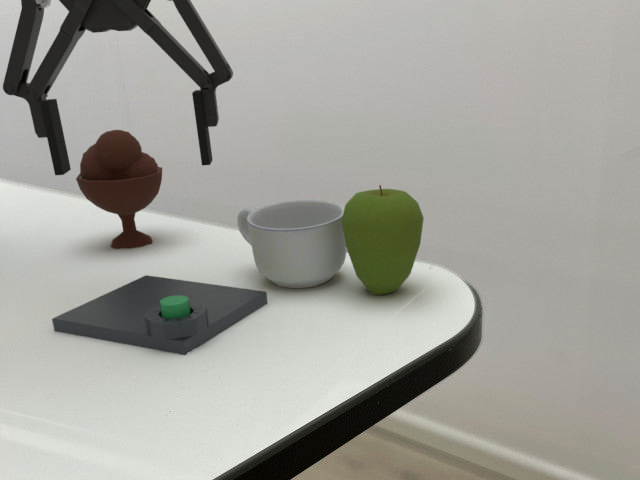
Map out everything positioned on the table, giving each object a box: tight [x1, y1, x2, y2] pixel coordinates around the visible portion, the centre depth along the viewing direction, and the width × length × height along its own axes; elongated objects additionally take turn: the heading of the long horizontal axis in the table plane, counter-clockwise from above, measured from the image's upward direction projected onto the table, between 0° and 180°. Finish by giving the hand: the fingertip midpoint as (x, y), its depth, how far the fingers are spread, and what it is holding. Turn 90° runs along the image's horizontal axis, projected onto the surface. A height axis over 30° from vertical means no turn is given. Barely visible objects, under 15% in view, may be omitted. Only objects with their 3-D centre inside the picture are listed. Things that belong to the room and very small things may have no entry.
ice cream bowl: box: [75, 129, 163, 250], centre depth 100 cm, size 11×11×15 cm
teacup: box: [236, 198, 347, 289], centre depth 86 cm, size 14×11×8 cm
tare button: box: [160, 295, 191, 319], centre depth 71 cm, size 3×3×2 cm
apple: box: [341, 184, 424, 296], centre depth 80 cm, size 9×8×12 cm
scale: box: [51, 275, 268, 356], centre depth 77 cm, size 16×14×3 cm
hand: (135, 168), depth 73 cm, fingers open, 13 cm apart
